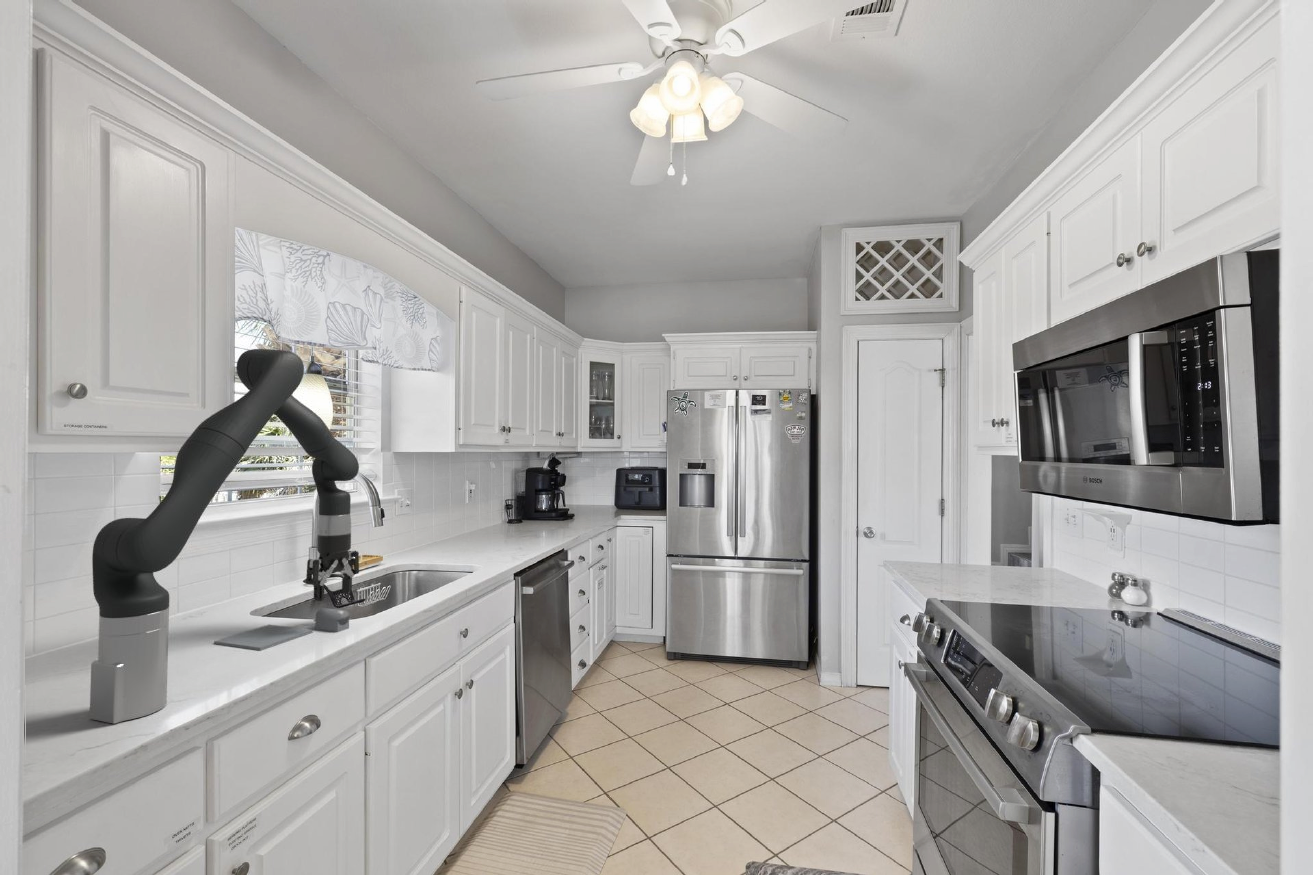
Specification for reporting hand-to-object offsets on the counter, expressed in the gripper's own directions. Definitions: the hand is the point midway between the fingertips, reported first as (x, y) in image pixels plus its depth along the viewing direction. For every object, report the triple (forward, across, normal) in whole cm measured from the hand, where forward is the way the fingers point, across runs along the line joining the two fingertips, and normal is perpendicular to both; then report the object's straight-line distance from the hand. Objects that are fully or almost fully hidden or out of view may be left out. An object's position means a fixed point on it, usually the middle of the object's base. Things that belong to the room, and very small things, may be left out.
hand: (333, 596), depth 152 cm
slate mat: (+8, -11, +9) cm, 16 cm away
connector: (+8, 0, 0) cm, 8 cm away
